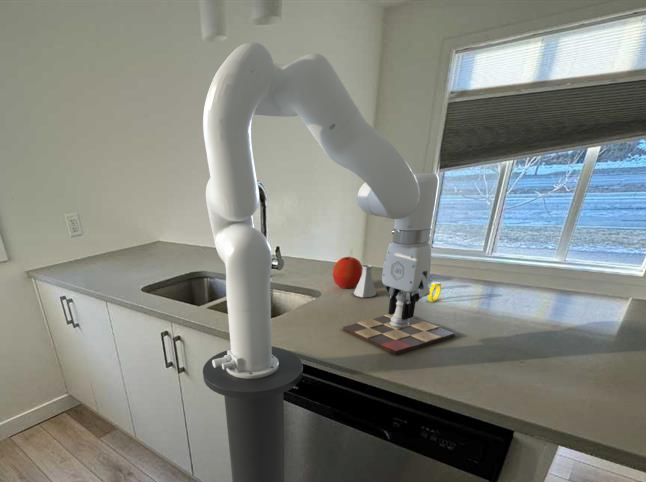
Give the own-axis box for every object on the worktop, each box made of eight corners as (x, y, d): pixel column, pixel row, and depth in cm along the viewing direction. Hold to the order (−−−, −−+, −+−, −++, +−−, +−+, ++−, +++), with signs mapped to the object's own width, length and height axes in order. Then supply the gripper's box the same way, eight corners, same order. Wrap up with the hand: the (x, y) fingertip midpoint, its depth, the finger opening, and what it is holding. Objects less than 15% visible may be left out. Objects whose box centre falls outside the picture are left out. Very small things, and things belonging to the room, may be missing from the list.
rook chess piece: (411, 328, 96) (416, 296, 92) (391, 328, 97) (395, 296, 93) (407, 321, 100) (411, 290, 96) (388, 322, 101) (391, 290, 97)
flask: (367, 290, 144) (370, 262, 140) (380, 295, 138) (383, 266, 133) (349, 293, 143) (351, 265, 138) (361, 299, 137) (364, 269, 132)
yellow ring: (432, 304, 127) (436, 285, 124) (424, 302, 129) (427, 284, 126) (441, 299, 130) (444, 281, 128) (432, 297, 132) (436, 279, 129)
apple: (327, 289, 150) (329, 257, 144) (339, 282, 156) (341, 251, 150) (353, 292, 144) (356, 259, 138) (365, 285, 150) (368, 253, 144)
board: (395, 355, 99) (396, 350, 98) (342, 330, 115) (343, 326, 115) (454, 336, 105) (455, 332, 105) (396, 315, 122) (397, 311, 121)
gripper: (371, 234, 94) (364, 309, 103) (429, 244, 81) (415, 329, 90) (396, 230, 96) (387, 303, 105) (456, 238, 83) (440, 322, 92)
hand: (400, 315), depth 97 cm, fingers closed on rook chess piece, 3 cm apart
